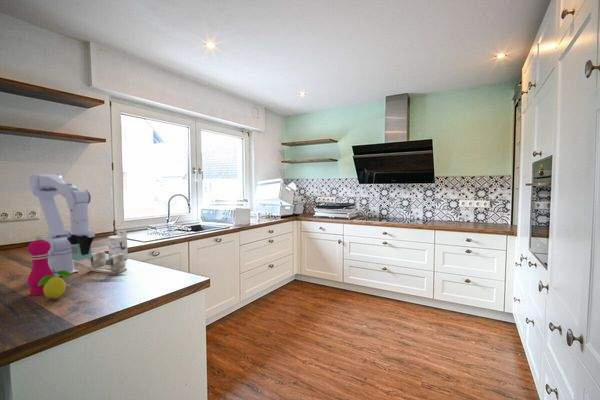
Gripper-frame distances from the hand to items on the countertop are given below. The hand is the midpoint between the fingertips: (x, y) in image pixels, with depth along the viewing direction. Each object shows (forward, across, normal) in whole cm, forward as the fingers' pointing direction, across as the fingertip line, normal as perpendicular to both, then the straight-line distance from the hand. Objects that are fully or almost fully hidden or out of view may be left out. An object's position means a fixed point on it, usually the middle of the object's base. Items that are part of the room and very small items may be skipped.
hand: (81, 253), depth 115 cm
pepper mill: (+10, -3, +15) cm, 18 cm away
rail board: (+10, 0, -10) cm, 14 cm away
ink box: (+10, +15, -25) cm, 31 cm away
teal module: (+2, 0, 0) cm, 2 cm away
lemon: (+10, -15, +17) cm, 25 cm away
